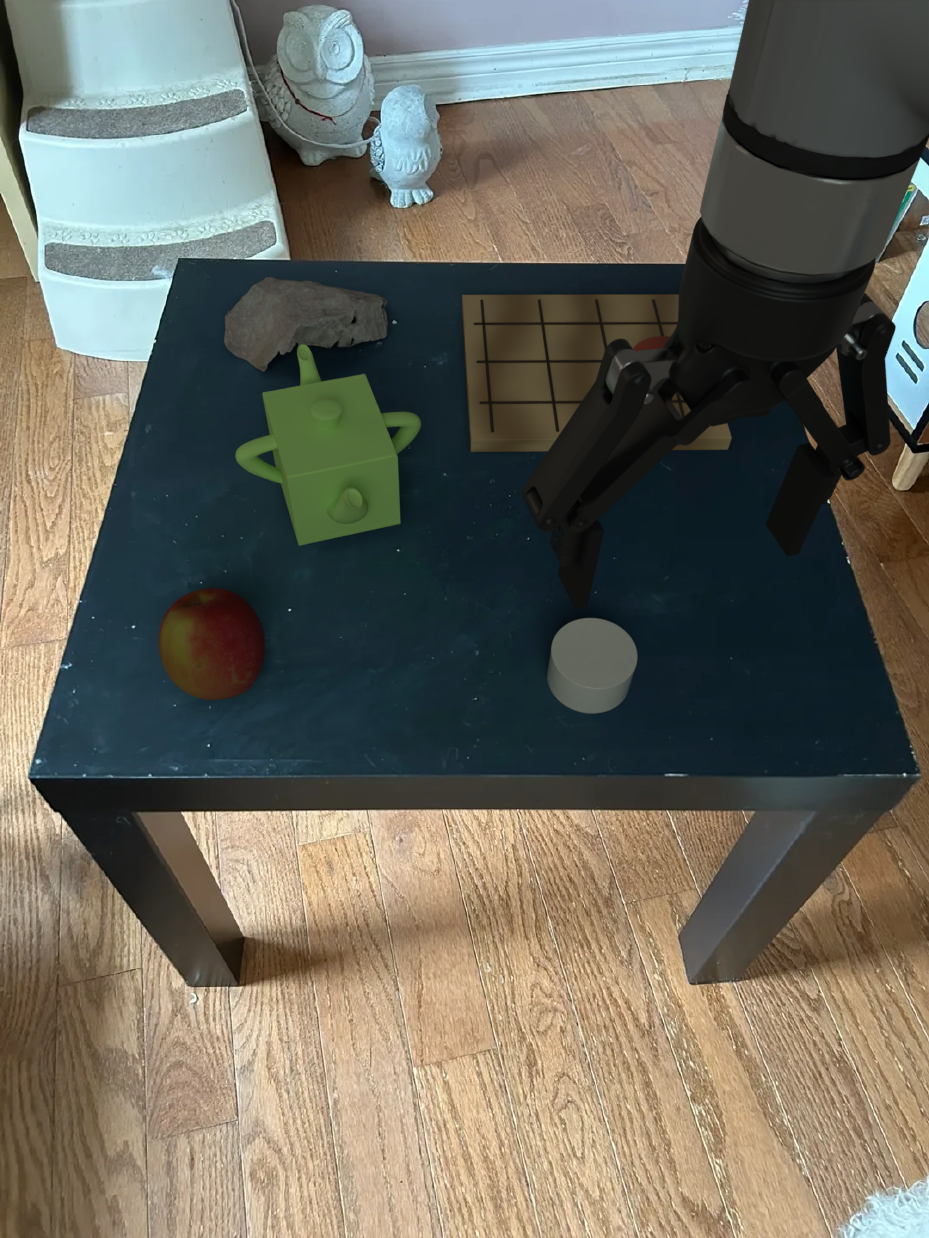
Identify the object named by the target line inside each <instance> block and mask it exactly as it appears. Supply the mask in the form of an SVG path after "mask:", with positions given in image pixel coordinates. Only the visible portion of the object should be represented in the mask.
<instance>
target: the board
mask: <svg viewBox="0 0 929 1238" xmlns="http://www.w3.org/2000/svg"><path fill="white" fill-rule="evenodd" d="M678 304H679V293H678V294H677V293H675V294H674V293H673V294H671V293H670V294H663V293H662V294H661V293H658V294H657V293H656V294H654V293H653V294H652V293H651V294H650V293H649V294H642V293H641V294H462V295H461V317H462V318H461V319H462V335H463V349H464V364H465V380H466V381H465V383H466V397H467V398H466V399H467V414H468V429H469V431H468V432H469V446H470V447H469V448H470V449H469V450H470V452H471V453H508V452H509V453H510V452H511V453H513V452H515V453H517V452H520V453H521V452H523V453H524V452H526V453H527V452H528V453H529V452H530V453H531V452H548V451H549V449H550V448H551V446H552V445H553V443H554V442H555V440H556V439H557V437H558V436H559V434H560V433H561V431H562V430H563V429H564V427H565V426H566V424H567V423H568V421H569V420H570V418H571V417H572V415H573V414H574V412H575V411H576V409H577V408H578V406H579V405H580V403H581V402H582V400H583V399H584V398H585V396H586V395H587V393H588V392H589V390H590V389H591V387H592V386H593V384H594V383H595V381H596V378H597V375H598V372H599V368H600V365H601V362H602V358H603V355H604V352H605V349H606V347H607V346H608V345H609V344H610V343H611V342H612V341H614V340H616V339H620V338H621V339H625V340H627V341H628V342H629V344H630V345H631V347H632V348H633V350H634V351H639V350H649V349H660V348H663V346H664V344H665V343H666V342H667V340H668V339H669V338H670V336H671V335H672V334H673V332H674V330H675V328H676V326H677V323H678ZM672 403H673V404H674V406H675V407H676V409H677V410H678V412H679V413H680V415H681V416H682V418H683V417H685V416H686V415H687V414H688V413H689V412H690V411H691V410H690V409H689V407H688V406H687V404H686V403H685V401H684V400H683V398H682V397H681V396H680V394H679V393H678V392H677V393H676V394H675V395H674V396H673V398H672ZM731 442H732V435H731V430H730V427H729V424H728V423H726V424H722V425H717V426H713V427H712V426H710V427H708V428H707V429H706V430H705V431H704V432H703V433H702V434H701V435H700V436H699V437H698V438H697V439H696V440H694V441H693V442H692V443H691V444H689V445H686V446H685V445H677V446H676V447H675V448H674V449H673V450H672V451H728V450H729V448H730V445H731Z"/></svg>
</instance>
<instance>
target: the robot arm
mask: <svg viewBox="0 0 929 1238" xmlns="http://www.w3.org/2000/svg"><path fill="white" fill-rule="evenodd" d="M735 56H736V57H735V62H734V66H733V69H732V73H731V78H730V83H729V87H728V91H727V93H726V96H725V100H724V105H723V109H722V114H721V117H720V122H719V126H718V130H717V135H716V139H715V143H714V146H713V151H712V155H711V160H710V163H709V168H708V171H707V176H706V181H705V185H704V189H703V193H702V197H701V198H702V199H701V202H700V208H699V213H700V217H699V218H698V219H697V220H696V222H695V225H694V227H693V231H692V235H691V239H690V243H689V247H688V251H687V255H686V259H685V263H684V268H683V272H682V275H681V280H680V284H679V288H678V294H679V304H678V323H677V326H676V328H675V330H674V332H673V334H672V335H671V336H670V338H669V339H668V340H667V342H666V343H665V344H664V346H663V348H660V349H649V350H639V351H634V350H633V348H632V347H631V345H630V344H629V342H628V341H627V340H625V339H621V338H620V339H616V340H614V341H612V342H611V343H610V344H609V345H608V346H607V347H606V349H605V352H604V355H603V358H602V362H601V365H600V368H599V372H598V375H597V378H596V381H595V383H594V384H593V386H592V387H591V389H590V390H589V392H588V393H587V395H586V396H585V398H584V399H583V400H582V402H581V403H580V405H579V406H578V408H577V409H576V411H575V412H574V414H573V415H572V417H571V418H570V420H569V421H568V423H567V424H566V426H565V427H564V429H563V430H562V431H561V433H560V434H559V436H558V437H557V439H556V440H555V442H554V443H553V445H552V446H551V448H550V449H549V451H546V454H545V455H544V457H543V458H542V460H541V461H540V462H539V464H538V465H537V467H536V468H535V469H534V471H533V473H532V474H531V475H530V477H529V478H528V480H527V482H526V483H525V485H524V486H523V487H522V490H521V491H520V492H521V497H522V499H523V501H524V504H525V505H526V508H527V509H528V511H529V513H530V515H531V517H532V519H533V521H534V524H535V525H536V527H537V529H538V530H539V531H540V532H542V533H549V532H551V534H550V540H549V544H550V547H551V548H552V550H553V552H554V555H555V556H556V558H557V561H558V570H557V576H558V578H559V581H560V583H561V584H562V587H563V588H564V591H565V592H566V594H567V596H568V599H569V600H570V602H571V603H570V604H571V605H572V607H573V609H574V611H576V610H582V609H584V608H588V605H589V601H590V597H591V592H592V588H593V584H594V583H593V582H594V579H595V574H596V570H597V564H598V561H599V556H600V551H601V546H602V542H603V538H604V532H605V529H604V527H603V525H602V523H601V521H600V520H599V519H600V518H601V517H602V516H603V515H604V514H605V513H606V512H607V511H609V509H610V508H611V507H613V506H614V505H615V504H616V503H617V502H618V501H619V500H620V499H621V498H622V497H624V495H626V494H627V493H628V492H629V491H630V490H631V489H632V488H633V487H635V485H636V484H637V483H639V481H640V480H642V479H643V478H644V477H645V476H646V475H647V474H648V473H649V472H650V471H651V470H652V469H653V468H655V467H656V466H657V465H658V464H659V463H660V462H661V461H662V460H663V459H664V458H665V457H666V456H667V455H668V454H669V453H671V452H672V451H674V450H673V449H674V448H675V447H676V446H677V445H685V446H686V445H689V444H691V443H692V442H693V441H694V440H696V439H697V438H698V437H699V436H700V435H701V434H702V433H703V432H704V431H705V430H706V429H707V428H708V427H710V426H712V427H713V426H717V425H722V424H726V423H727V424H728V423H731V422H733V421H736V420H738V419H741V418H760V417H763V416H768V415H770V412H771V410H773V409H774V408H776V407H778V406H779V405H781V404H782V403H783V402H784V401H785V402H786V404H787V405H788V406H789V408H790V409H791V411H792V412H793V413H794V415H795V416H796V417H797V419H798V420H799V421H800V423H801V424H802V425H803V427H804V428H805V429H806V431H807V432H808V433H809V435H810V436H811V438H812V439H813V440H814V442H815V443H816V444H817V445H816V447H814V446H813V445H812V443H811V442H806V443H803V444H799V445H797V447H796V449H795V452H794V454H793V457H792V459H791V461H790V463H789V466H788V468H787V471H786V474H785V475H784V478H783V481H782V482H781V485H780V488H779V490H778V492H777V494H776V497H775V500H774V502H773V504H772V507H771V509H770V512H769V514H768V516H767V519H766V522H765V524H764V526H765V527H766V528H767V530H768V531H769V532H770V534H771V536H772V537H773V538H774V540H775V541H776V542H777V544H778V545H779V547H780V548H781V550H782V552H783V553H784V554H785V556H786V557H787V558H788V557H792V556H797V555H799V554H800V551H801V550H802V547H803V546H804V543H805V541H806V539H807V537H808V535H809V532H810V531H811V529H812V527H813V526H812V525H813V524H814V522H815V520H816V518H817V516H818V514H819V512H820V509H821V507H822V506H823V505H824V504H827V503H828V501H829V500H830V499H831V498H832V496H833V494H834V492H835V490H836V488H837V486H838V484H839V481H840V480H841V477H842V478H843V480H845V481H846V482H849V481H854V480H856V479H857V478H859V477H860V476H861V475H862V474H863V473H864V472H865V469H866V465H865V463H864V462H863V461H862V460H861V459H860V458H859V457H858V456H861V455H862V454H863V455H864V454H865V453H867V452H868V453H869V455H870V456H879V455H881V454H883V453H885V451H887V449H888V448H889V447H890V445H891V441H892V440H891V426H890V409H889V398H888V396H889V395H888V381H887V380H888V379H887V366H886V365H887V364H886V358H887V355H888V352H889V350H890V349H889V348H890V346H891V344H892V342H893V338H894V335H895V332H896V328H897V326H896V323H894V321H893V320H892V319H891V318H890V317H889V316H888V315H887V314H886V313H885V312H884V311H883V310H882V309H881V307H880V306H878V304H876V302H875V301H874V300H873V299H872V298H871V297H870V296H869V294H867V293H866V290H867V288H868V286H869V283H870V281H871V279H872V276H873V273H874V272H875V268H876V263H877V262H876V258H877V257H878V256H879V255H880V254H882V253H883V251H884V249H885V246H886V244H887V241H888V238H889V237H890V234H891V231H892V229H893V227H894V224H895V223H896V219H897V217H898V214H899V211H900V209H901V207H902V204H903V202H904V199H905V197H906V194H907V192H908V189H909V187H910V185H911V182H912V180H913V178H914V175H915V173H916V170H917V168H918V164H919V162H920V160H921V158H922V156H923V153H924V151H925V149H926V146H927V145H928V142H929V0H748V3H747V7H746V11H745V16H744V20H743V25H742V30H741V34H740V38H739V43H738V47H737V52H736V55H735ZM835 351H836V359H837V365H838V373H839V380H840V389H841V397H842V403H843V413H844V420H845V424H843V425H840V426H839V427H838V424H837V423H836V422H835V421H834V419H833V418H832V416H831V415H830V413H829V411H828V410H827V409H826V407H825V405H824V403H823V401H822V400H821V398H820V396H819V395H818V394H817V392H816V391H815V390H814V388H813V386H812V384H811V383H810V381H809V380H808V378H809V377H811V375H812V374H813V373H814V372H815V371H817V369H818V368H819V367H820V366H821V365H823V363H824V362H825V361H827V360H828V359H829V358H830V357H831V356H832V355H833V353H834V352H835ZM677 392H678V393H679V394H680V396H681V397H682V398H683V400H684V401H685V403H686V404H687V406H688V407H689V409H690V410H691V411H690V412H689V413H688V414H687V415H686V416H685V417H683V418H682V416H681V415H680V413H679V412H678V410H677V409H676V407H675V406H674V404H673V403H672V398H673V396H674V395H675V394H676V393H677Z"/></svg>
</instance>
